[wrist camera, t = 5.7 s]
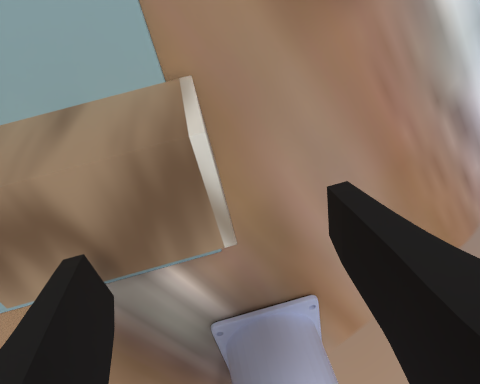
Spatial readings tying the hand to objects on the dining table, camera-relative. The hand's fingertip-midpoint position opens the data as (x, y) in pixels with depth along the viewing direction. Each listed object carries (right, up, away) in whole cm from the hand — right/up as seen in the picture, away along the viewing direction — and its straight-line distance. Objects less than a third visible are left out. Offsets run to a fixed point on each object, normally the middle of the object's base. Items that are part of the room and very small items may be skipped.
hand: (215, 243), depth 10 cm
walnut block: (0, +3, +4) cm, 5 cm away
